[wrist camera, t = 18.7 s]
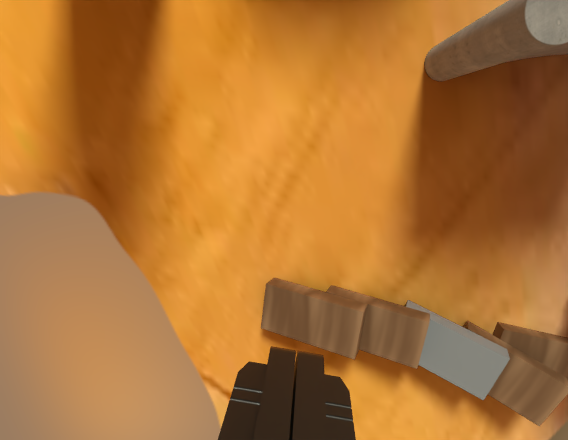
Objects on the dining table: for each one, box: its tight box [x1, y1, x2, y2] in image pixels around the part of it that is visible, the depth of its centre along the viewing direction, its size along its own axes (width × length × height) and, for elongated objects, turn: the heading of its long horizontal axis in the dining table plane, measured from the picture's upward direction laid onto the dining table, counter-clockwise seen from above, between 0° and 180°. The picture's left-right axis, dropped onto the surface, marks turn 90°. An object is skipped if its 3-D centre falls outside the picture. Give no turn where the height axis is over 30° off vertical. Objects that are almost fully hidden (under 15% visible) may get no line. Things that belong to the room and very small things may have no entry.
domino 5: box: [463, 321, 568, 426], centre depth 39 cm, size 2×5×10 cm
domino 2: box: [327, 285, 430, 369], centre depth 39 cm, size 2×5×10 cm
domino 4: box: [493, 322, 568, 380], centre depth 41 cm, size 2×5×10 cm
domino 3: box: [405, 300, 510, 400], centre depth 39 cm, size 2×5×10 cm
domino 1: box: [261, 278, 368, 360], centre depth 39 cm, size 2×5×10 cm
